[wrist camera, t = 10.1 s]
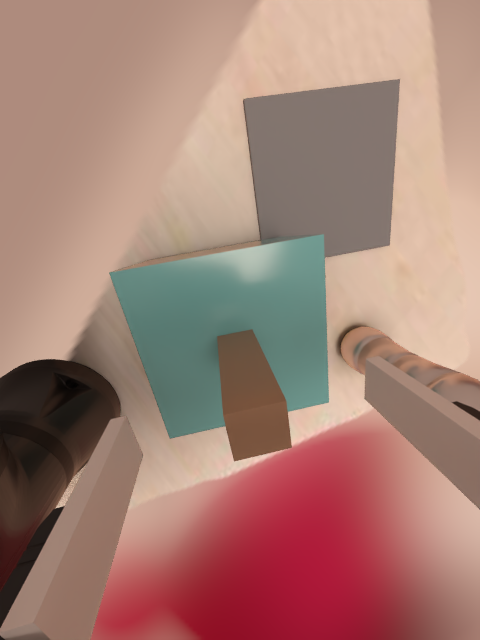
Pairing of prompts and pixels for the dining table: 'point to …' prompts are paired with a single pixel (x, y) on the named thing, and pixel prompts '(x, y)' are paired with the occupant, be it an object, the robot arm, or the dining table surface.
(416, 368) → the plastic bottle
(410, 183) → the dining table surface
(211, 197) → the dining table surface
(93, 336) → the dining table surface
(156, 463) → the dining table surface
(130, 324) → the teal base with peg
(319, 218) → the mat
